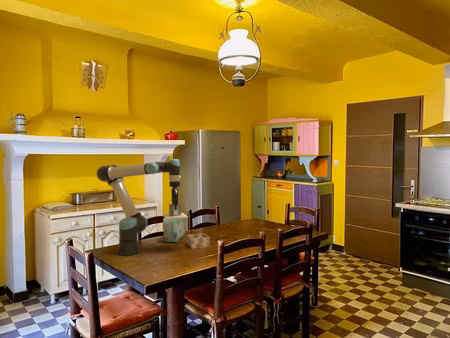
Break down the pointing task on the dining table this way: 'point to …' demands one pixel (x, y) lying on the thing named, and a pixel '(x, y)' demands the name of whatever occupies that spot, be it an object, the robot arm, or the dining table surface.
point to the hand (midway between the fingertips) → (175, 213)
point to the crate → (198, 241)
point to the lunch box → (173, 229)
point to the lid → (171, 213)
